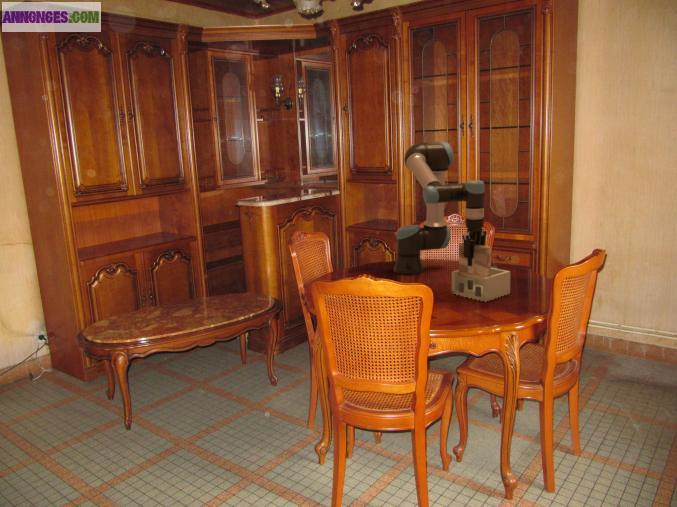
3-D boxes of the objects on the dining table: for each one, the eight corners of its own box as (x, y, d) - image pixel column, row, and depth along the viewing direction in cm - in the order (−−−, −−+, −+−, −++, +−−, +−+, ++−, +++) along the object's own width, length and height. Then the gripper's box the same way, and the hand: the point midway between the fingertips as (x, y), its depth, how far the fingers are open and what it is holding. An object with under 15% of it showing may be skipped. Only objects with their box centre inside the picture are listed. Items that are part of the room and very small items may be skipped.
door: (463, 273, 253) (464, 242, 250) (490, 279, 243) (490, 246, 240) (456, 276, 250) (456, 244, 247) (482, 281, 240) (483, 248, 237)
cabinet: (476, 286, 264) (476, 264, 261) (509, 293, 250) (510, 271, 248) (451, 293, 253) (451, 271, 251) (485, 302, 239) (485, 278, 237)
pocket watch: (508, 284, 264) (509, 263, 262) (489, 284, 266) (489, 263, 264) (507, 279, 272) (507, 259, 270) (488, 279, 274) (488, 259, 271)
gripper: (469, 221, 234) (468, 277, 239) (494, 216, 244) (493, 270, 249) (454, 219, 239) (454, 274, 244) (479, 214, 249) (479, 267, 254)
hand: (474, 272), depth 246 cm, fingers closed on door, 3 cm apart
